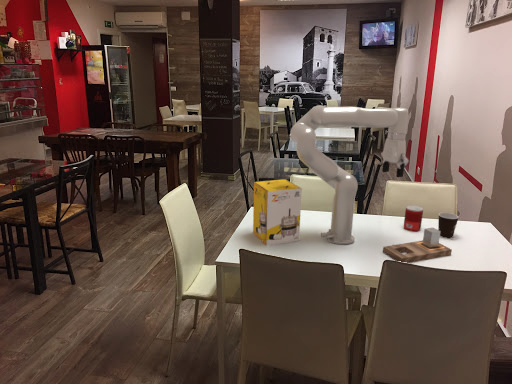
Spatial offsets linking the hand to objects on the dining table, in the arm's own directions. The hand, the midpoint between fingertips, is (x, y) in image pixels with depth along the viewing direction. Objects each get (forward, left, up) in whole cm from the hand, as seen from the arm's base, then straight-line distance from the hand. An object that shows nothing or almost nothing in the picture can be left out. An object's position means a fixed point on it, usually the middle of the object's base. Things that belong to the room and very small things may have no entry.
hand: (392, 174), depth 187 cm
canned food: (+19, +4, -31) cm, 36 cm away
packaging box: (-49, +17, -31) cm, 60 cm away
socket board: (+1, -20, -30) cm, 36 cm away
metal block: (+8, -20, -30) cm, 37 cm away
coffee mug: (+30, -8, -31) cm, 44 cm away
